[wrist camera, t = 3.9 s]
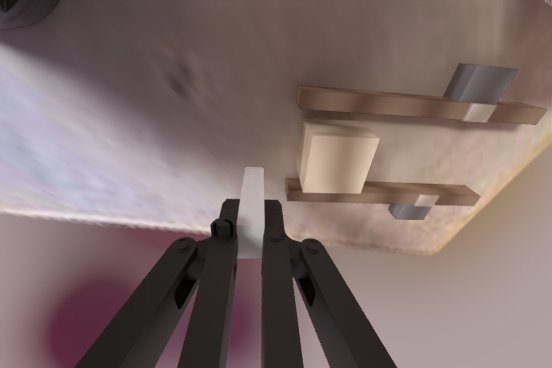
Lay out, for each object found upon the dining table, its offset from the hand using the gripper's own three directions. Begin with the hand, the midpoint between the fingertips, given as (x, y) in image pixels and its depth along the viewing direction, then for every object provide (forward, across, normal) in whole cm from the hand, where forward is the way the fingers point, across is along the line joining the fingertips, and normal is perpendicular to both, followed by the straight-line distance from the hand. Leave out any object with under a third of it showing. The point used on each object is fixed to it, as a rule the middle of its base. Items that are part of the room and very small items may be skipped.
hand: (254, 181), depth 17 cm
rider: (+7, +8, 0) cm, 11 cm away
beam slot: (+7, +16, 0) cm, 17 cm away
